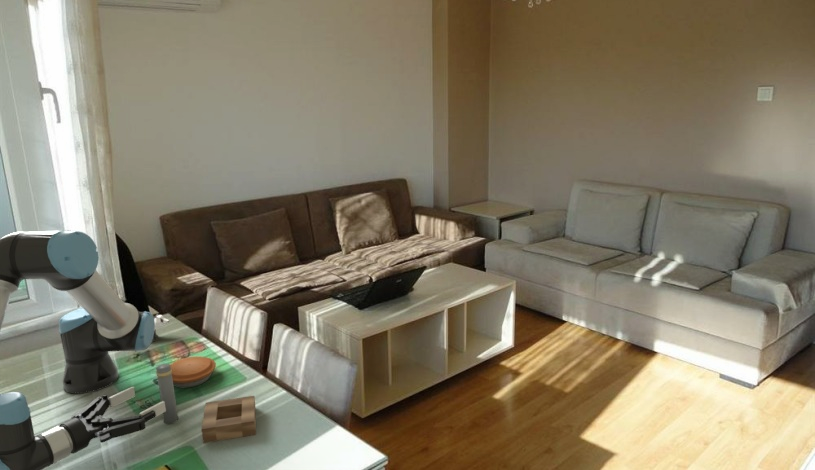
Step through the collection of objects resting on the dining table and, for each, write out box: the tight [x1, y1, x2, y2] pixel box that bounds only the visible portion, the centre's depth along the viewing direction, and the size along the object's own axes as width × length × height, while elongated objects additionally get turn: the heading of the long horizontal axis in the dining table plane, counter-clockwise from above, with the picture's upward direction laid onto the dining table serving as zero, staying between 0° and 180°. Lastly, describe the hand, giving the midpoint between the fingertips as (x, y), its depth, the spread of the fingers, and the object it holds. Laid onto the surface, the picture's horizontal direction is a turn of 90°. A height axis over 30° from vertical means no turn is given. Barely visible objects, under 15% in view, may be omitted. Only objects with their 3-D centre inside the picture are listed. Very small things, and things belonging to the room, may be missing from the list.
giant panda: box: [151, 313, 170, 343], centre depth 207 cm, size 15×6×10 cm, turn 97°
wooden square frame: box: [201, 395, 257, 444], centre depth 154 cm, size 13×13×4 cm
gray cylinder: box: [155, 363, 179, 425], centre depth 156 cm, size 4×4×16 cm
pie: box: [169, 356, 217, 389], centre depth 179 cm, size 16×16×5 cm
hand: (148, 398), depth 151 cm, fingers open, 13 cm apart
